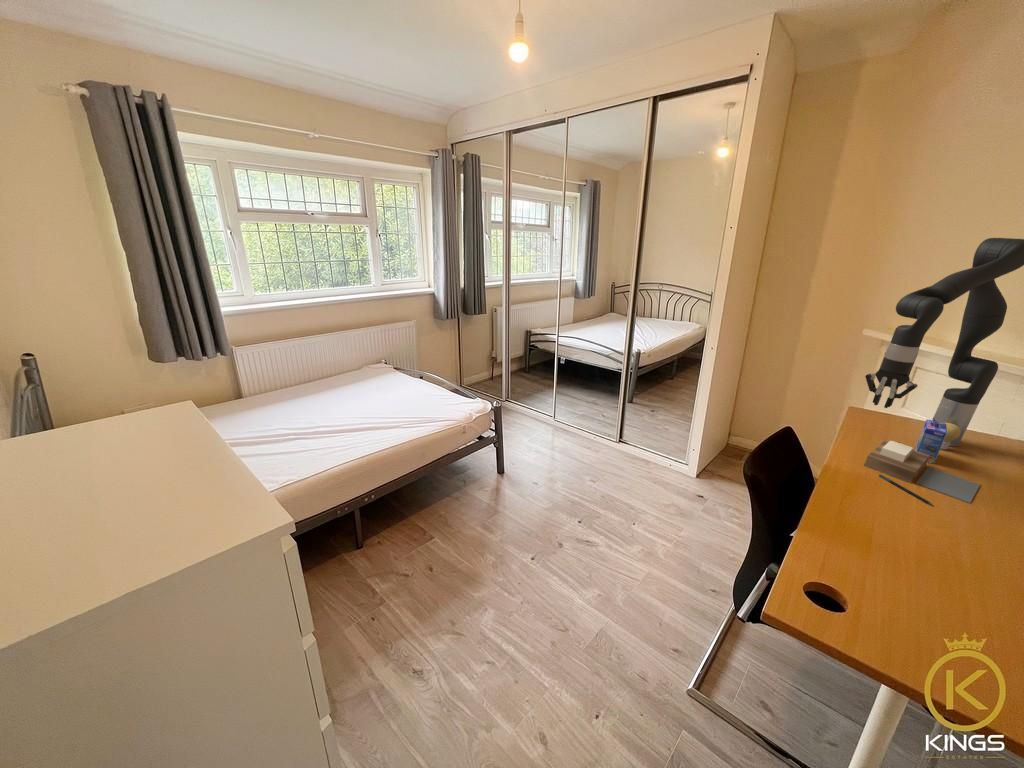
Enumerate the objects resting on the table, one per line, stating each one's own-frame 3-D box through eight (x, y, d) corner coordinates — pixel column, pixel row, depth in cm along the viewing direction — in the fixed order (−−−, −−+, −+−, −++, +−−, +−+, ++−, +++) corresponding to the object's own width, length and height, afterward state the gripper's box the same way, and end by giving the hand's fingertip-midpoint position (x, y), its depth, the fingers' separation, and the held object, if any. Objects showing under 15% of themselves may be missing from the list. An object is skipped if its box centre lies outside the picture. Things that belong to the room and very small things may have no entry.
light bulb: (924, 445, 150) (935, 421, 147) (932, 442, 153) (943, 418, 149) (947, 453, 145) (959, 429, 141) (955, 450, 148) (967, 425, 144)
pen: (931, 508, 117) (933, 504, 117) (877, 477, 131) (878, 474, 131) (934, 507, 117) (936, 504, 117) (880, 476, 132) (881, 473, 131)
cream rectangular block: (887, 446, 141) (890, 440, 140) (910, 454, 137) (913, 447, 136) (879, 454, 136) (882, 447, 136) (902, 462, 132) (905, 455, 131)
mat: (928, 467, 136) (928, 466, 136) (979, 485, 127) (980, 484, 127) (915, 483, 128) (915, 482, 128) (969, 503, 119) (970, 502, 119)
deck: (880, 450, 147) (884, 440, 145) (925, 465, 138) (929, 455, 136) (863, 465, 137) (867, 455, 136) (910, 482, 128) (915, 472, 126)
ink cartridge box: (913, 448, 149) (928, 412, 143) (934, 453, 145) (950, 417, 140) (912, 458, 142) (928, 421, 137) (934, 464, 138) (951, 427, 133)
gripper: (931, 361, 128) (910, 410, 134) (876, 350, 138) (859, 396, 144) (925, 365, 124) (904, 416, 130) (869, 354, 134) (852, 401, 140)
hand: (880, 405), depth 137 cm, fingers closed
